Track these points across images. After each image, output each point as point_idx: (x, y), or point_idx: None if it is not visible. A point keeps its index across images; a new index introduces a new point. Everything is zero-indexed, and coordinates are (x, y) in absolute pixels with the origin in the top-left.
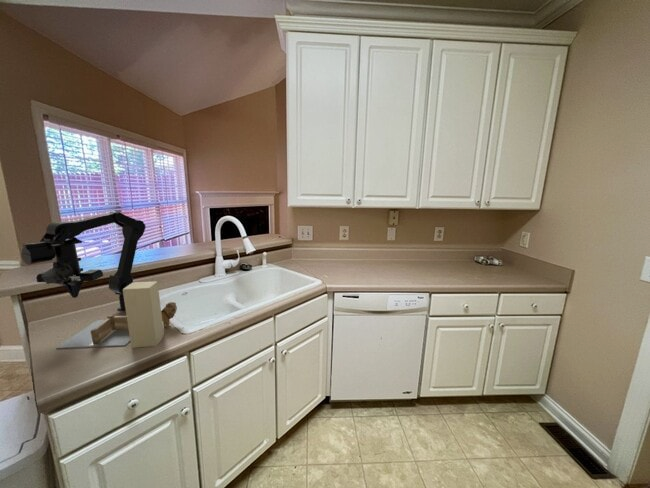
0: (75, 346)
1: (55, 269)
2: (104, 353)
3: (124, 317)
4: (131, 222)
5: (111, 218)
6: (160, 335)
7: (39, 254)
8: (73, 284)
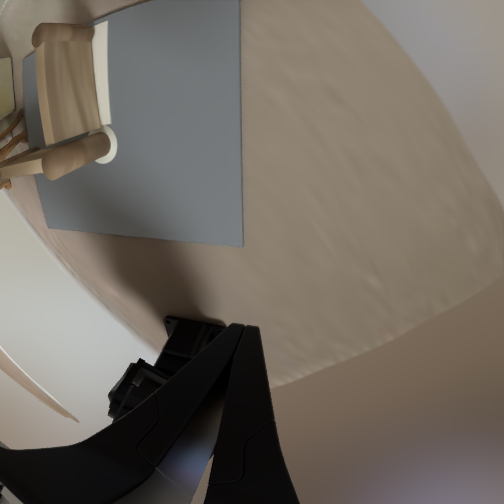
0: (155, 2)
1: None
2: (51, 11)
3: (18, 163)
4: None
5: None
6: None
7: None
8: (54, 457)
